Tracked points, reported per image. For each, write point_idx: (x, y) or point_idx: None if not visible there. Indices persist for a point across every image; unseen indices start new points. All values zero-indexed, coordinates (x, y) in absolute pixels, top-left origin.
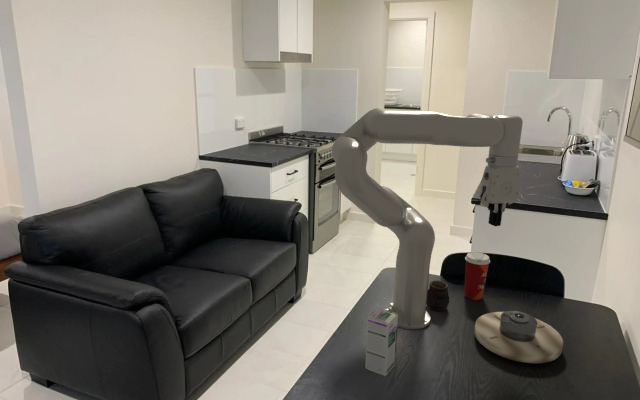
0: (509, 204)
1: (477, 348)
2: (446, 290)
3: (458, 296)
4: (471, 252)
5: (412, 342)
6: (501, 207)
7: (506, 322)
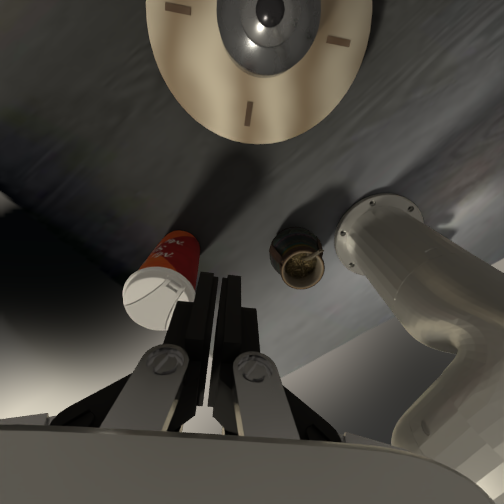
0: (27, 417)
1: None
2: (296, 247)
3: (213, 259)
4: (157, 329)
5: (443, 162)
6: (178, 393)
7: (318, 20)
